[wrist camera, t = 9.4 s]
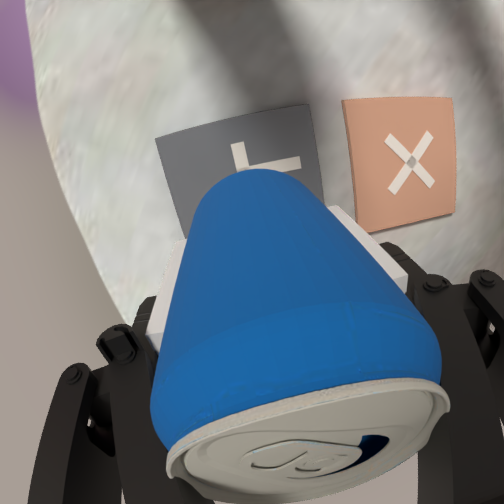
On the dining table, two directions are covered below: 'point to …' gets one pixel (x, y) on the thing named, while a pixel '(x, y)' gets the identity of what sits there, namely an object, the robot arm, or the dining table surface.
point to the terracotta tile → (401, 159)
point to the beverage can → (288, 352)
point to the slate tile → (238, 154)
